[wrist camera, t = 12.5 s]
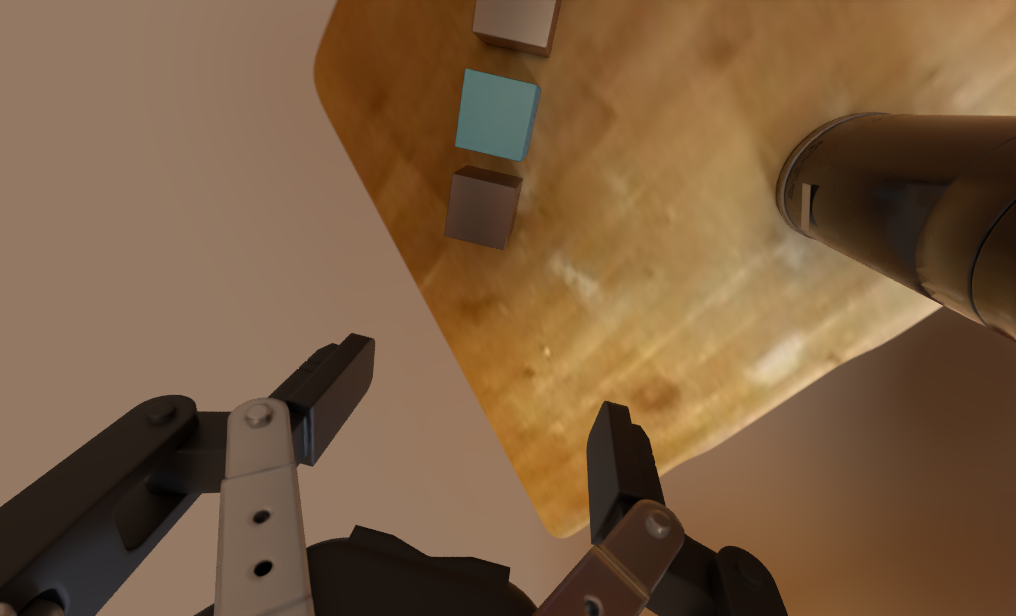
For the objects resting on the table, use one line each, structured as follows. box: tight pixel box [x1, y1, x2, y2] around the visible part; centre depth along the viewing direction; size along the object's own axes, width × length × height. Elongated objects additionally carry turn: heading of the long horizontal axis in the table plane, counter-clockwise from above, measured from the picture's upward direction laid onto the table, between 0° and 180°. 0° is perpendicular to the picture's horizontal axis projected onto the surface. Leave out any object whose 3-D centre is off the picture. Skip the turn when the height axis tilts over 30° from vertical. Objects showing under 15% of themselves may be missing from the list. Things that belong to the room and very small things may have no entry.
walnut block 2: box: [444, 166, 523, 250], centre depth 33 cm, size 5×5×5 cm
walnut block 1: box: [472, 0, 562, 58], centre depth 27 cm, size 5×5×5 cm
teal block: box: [455, 68, 541, 162], centre depth 30 cm, size 5×5×5 cm
